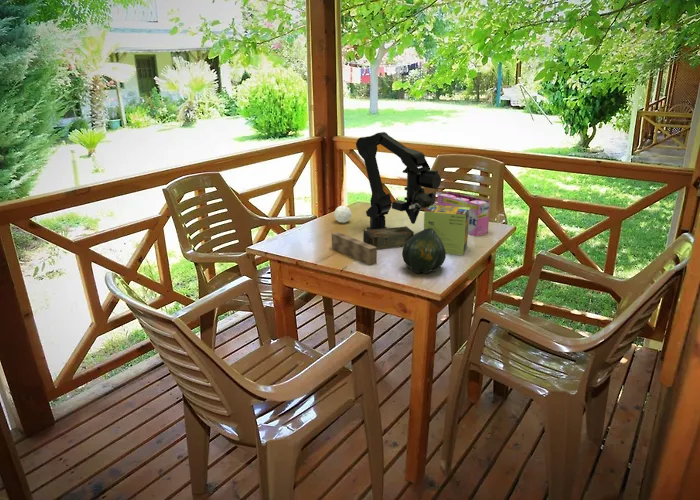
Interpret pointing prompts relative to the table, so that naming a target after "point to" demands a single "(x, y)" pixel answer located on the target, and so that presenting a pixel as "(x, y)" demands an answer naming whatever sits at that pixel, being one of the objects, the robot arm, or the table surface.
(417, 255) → the squash
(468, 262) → the table surface
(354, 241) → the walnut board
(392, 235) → the printed cardboard box
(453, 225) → the protein box
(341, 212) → the ball
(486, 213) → the gum box
